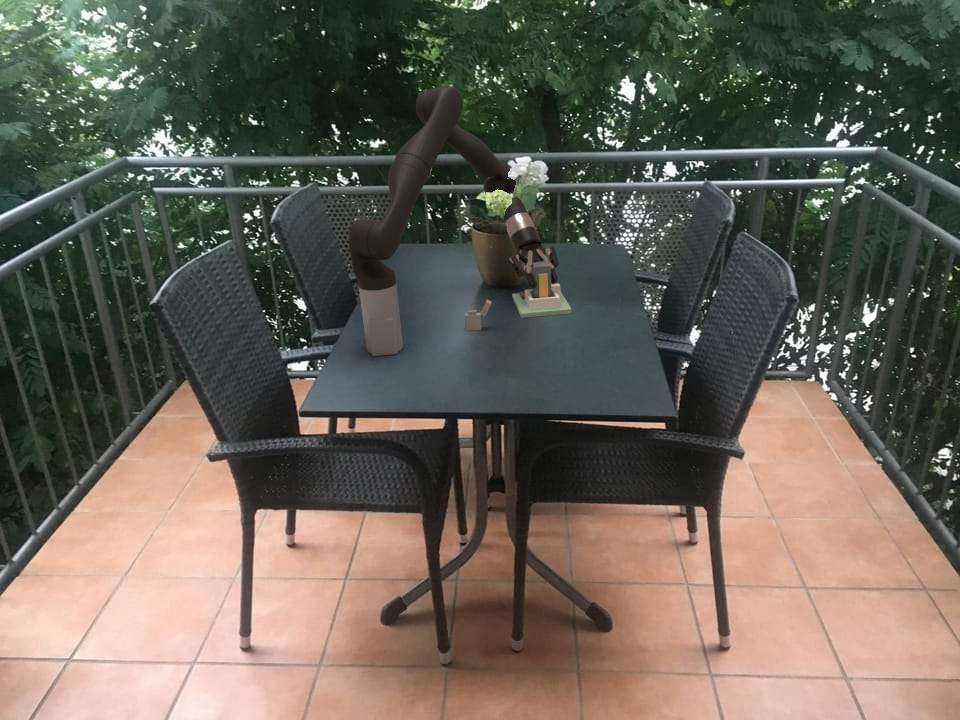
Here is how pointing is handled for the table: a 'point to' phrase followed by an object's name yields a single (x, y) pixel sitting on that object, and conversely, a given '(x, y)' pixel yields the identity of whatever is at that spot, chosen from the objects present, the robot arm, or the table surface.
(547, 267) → the grey yellow block
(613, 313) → the table surface
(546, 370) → the table surface
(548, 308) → the board
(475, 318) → the lighter
